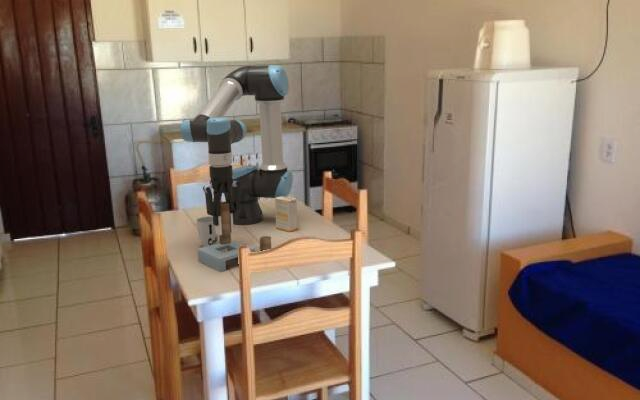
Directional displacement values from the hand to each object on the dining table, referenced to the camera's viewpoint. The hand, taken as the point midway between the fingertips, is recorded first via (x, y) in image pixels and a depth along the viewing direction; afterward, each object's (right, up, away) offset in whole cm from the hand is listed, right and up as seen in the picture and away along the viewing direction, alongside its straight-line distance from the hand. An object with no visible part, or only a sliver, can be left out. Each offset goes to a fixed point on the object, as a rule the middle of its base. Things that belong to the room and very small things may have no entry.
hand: (224, 232), depth 190 cm
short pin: (+13, -8, +9) cm, 18 cm away
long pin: (0, -3, +1) cm, 4 cm away
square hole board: (0, -10, +3) cm, 10 cm away
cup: (-9, -6, +20) cm, 22 cm away
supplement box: (+19, -1, +37) cm, 42 cm away
